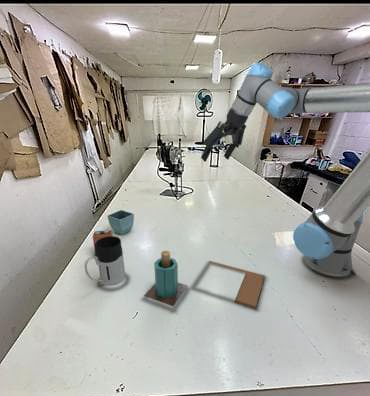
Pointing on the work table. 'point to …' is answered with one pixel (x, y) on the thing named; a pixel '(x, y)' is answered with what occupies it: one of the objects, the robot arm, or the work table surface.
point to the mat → (247, 287)
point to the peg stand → (152, 292)
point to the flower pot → (121, 221)
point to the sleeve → (166, 279)
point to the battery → (100, 236)
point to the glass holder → (109, 261)
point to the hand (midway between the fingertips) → (215, 158)
